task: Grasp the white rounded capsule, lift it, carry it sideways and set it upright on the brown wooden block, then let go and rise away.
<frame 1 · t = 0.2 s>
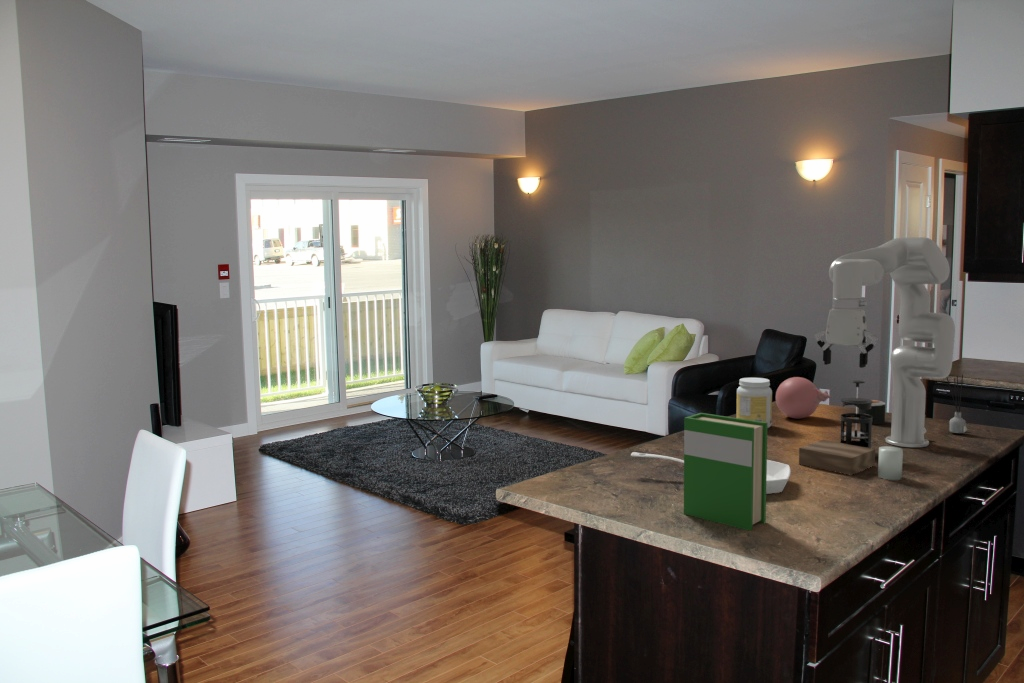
hand: (844, 365, 227), 31 cm above the worktop, tool pointing down, fingers open, 9 cm apart
brown wooden block: (836, 465, 236), on the worktop
white rounded capsule: (889, 477, 224), on the worktop
pan: (708, 481, 224), on the worktop
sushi: (871, 422, 291), on the worktop
reed diffuser: (954, 433, 272), on the worktop
hardback book: (723, 518, 193), on the worktop
balloon: (802, 419, 298), on the worktop
french press: (856, 454, 248), on the worktop
supplement tub: (753, 427, 288), on the worktop
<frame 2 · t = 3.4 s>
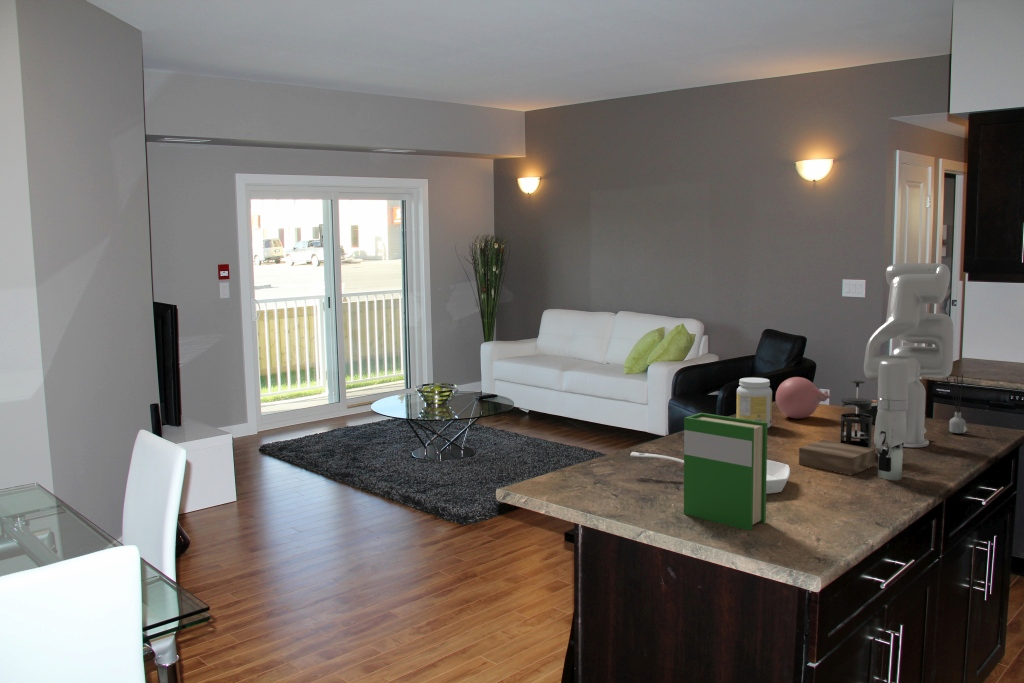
hand: (890, 467, 223), 3 cm above the worktop, tool pointing down, fingers closed on white rounded capsule, 6 cm apart
white rounded capsule: (889, 477, 224), on the worktop, touching gripper
everything else where it was.
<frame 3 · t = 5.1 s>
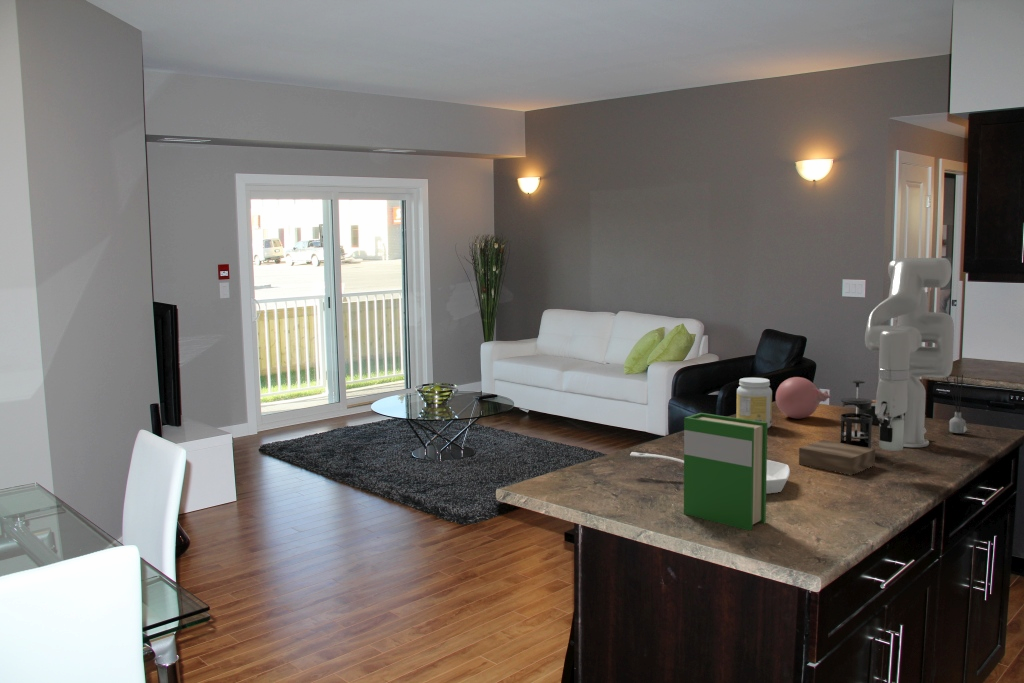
hand: (891, 438, 223), 11 cm above the worktop, tool pointing down, fingers closed on white rounded capsule, 6 cm apart
white rounded capsule: (891, 447, 223), point 8 cm above the worktop, touching gripper
everything else where it was.
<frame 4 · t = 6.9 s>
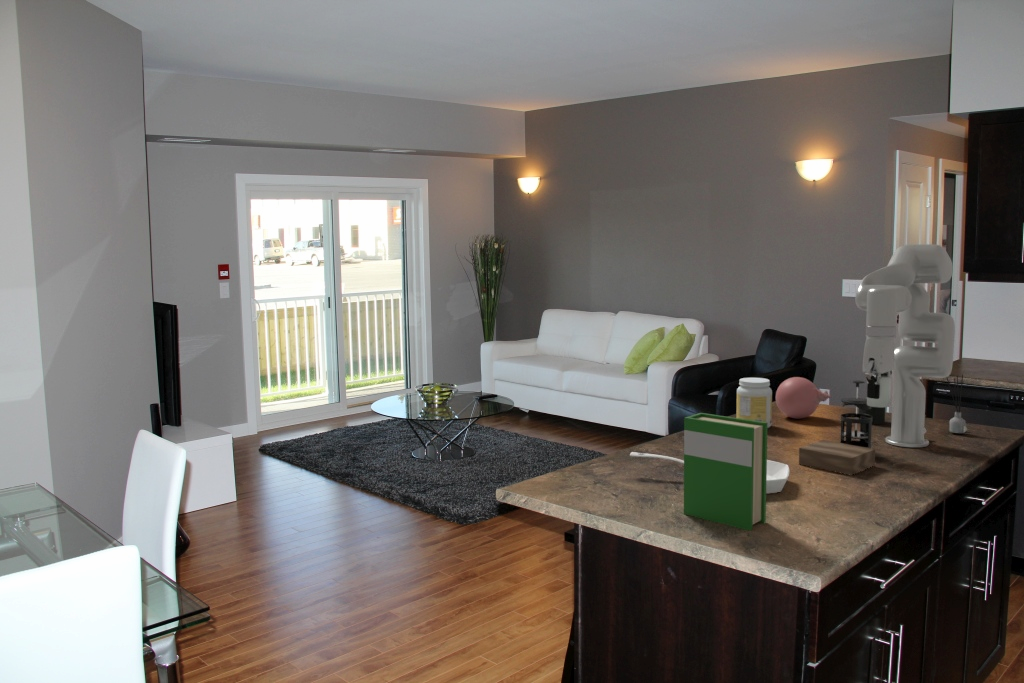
hand: (878, 395, 224), 22 cm above the worktop, tool pointing down, fingers closed on white rounded capsule, 6 cm apart
white rounded capsule: (878, 405, 225), point 20 cm above the worktop, touching gripper
everything else where it was.
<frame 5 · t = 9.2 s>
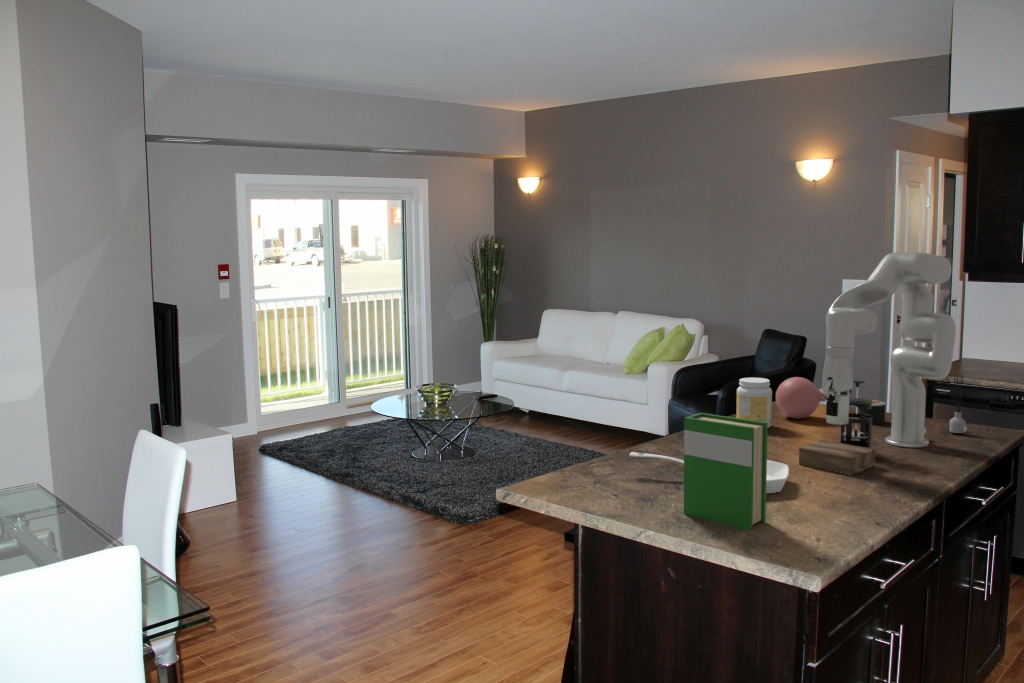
hand: (837, 413, 234), 15 cm above the worktop, tool pointing down, fingers closed on white rounded capsule, 6 cm apart
white rounded capsule: (837, 422, 235), point 13 cm above the worktop, touching gripper
everything else where it was.
when the fingers open (9 cm above the worktop, at t = 10.8 s): white rounded capsule drops 1 cm, resting on brown wooden block.
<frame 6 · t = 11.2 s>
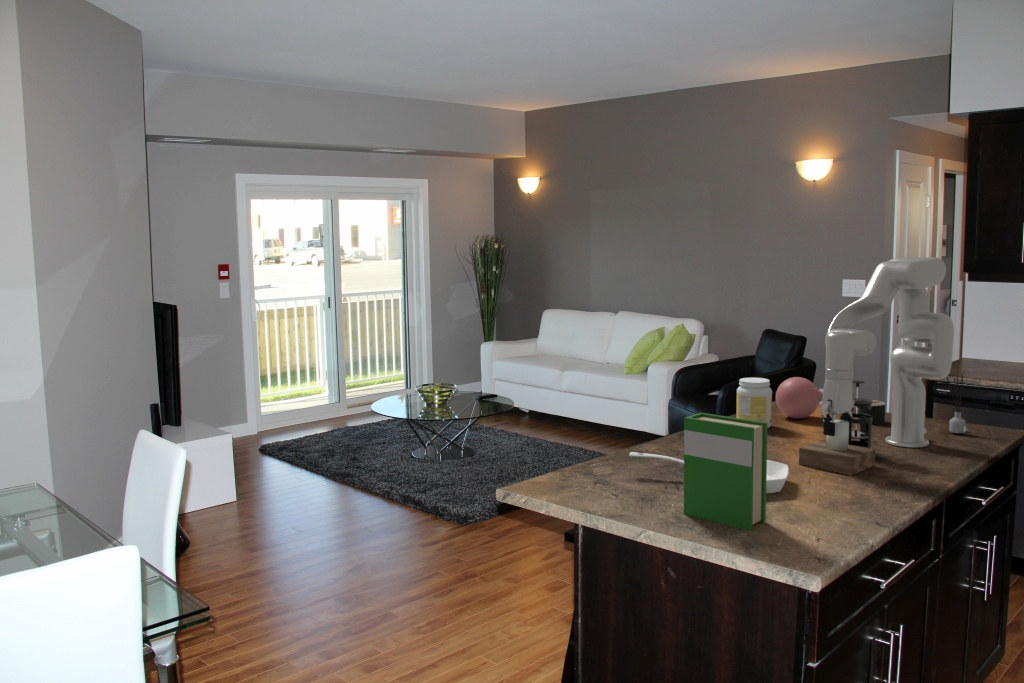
hand: (837, 432, 235), 10 cm above the worktop, tool pointing down, fingers open, 9 cm apart
white rounded capsule: (837, 448, 236), point 5 cm above the worktop, touching brown wooden block
everything else where it was.
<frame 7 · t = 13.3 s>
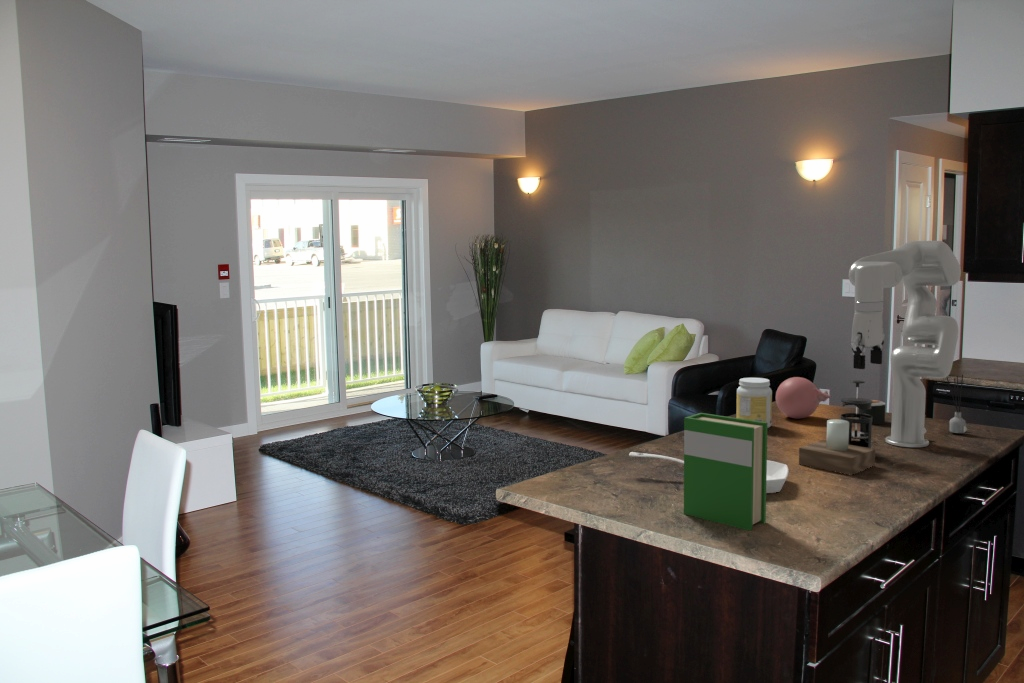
hand: (867, 366, 233), 29 cm above the worktop, tool pointing down, fingers open, 9 cm apart
nothing on the worktop moved.
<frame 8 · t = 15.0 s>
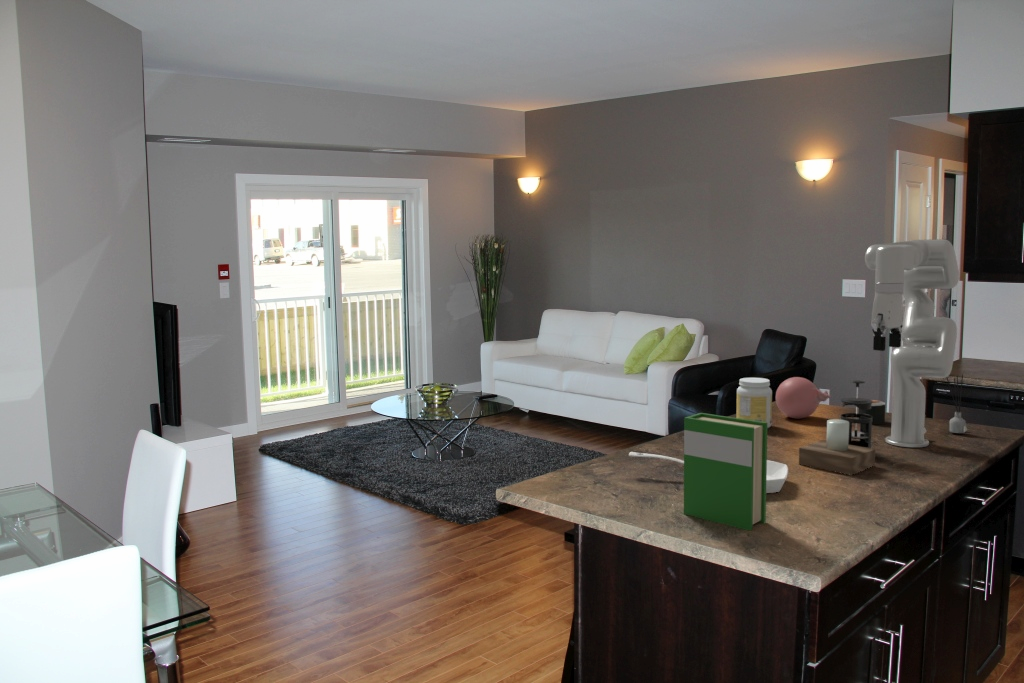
hand: (887, 348, 232), 34 cm above the worktop, tool pointing down, fingers open, 9 cm apart
nothing on the worktop moved.
at the end: white rounded capsule inside the target area on the brown wooden block (0.2 cm from its centre), point 5.1 cm above the brown wooden block's base; white rounded capsule tilted 1°; the gripper is holding nothing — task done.
